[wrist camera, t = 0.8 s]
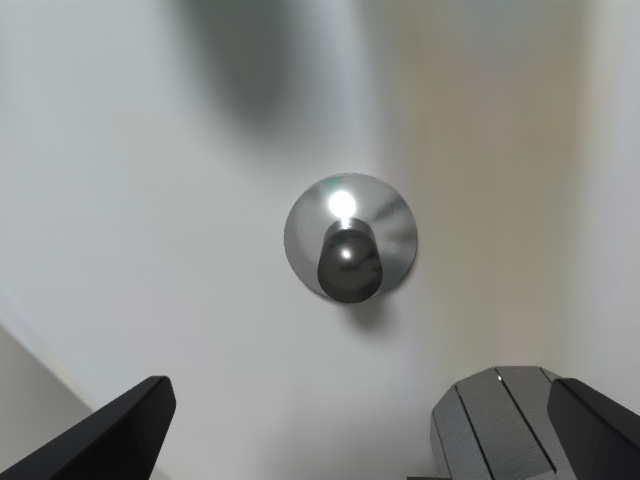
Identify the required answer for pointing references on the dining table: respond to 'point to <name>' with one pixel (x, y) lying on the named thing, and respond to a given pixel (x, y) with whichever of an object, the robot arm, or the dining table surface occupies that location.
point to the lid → (350, 237)
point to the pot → (498, 428)
